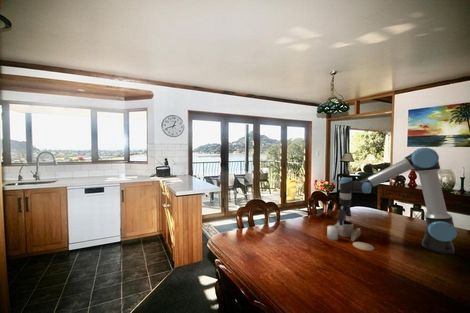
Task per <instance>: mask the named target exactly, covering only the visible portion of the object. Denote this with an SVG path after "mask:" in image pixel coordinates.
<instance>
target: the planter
mask: <svg viewBox="0 0 470 313" xmlns="http://www.w3.org/2000/svg"><path fill="white" fill-rule="evenodd" d="M343 221H344V226H343V230H341V229H339V220H338V219H337V221H336V224H337V227H338V237H342V238H348V239H349V238H350V239H351V233H352V232H353V231H354V222H352V221H351V220H350V221H347V220H346V219H343Z"/></svg>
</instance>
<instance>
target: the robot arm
mask: <svg viewBox="0 0 470 313" xmlns="http://www.w3.org/2000/svg"><path fill="white" fill-rule="evenodd" d="M439 158H440V156H439V154H438V152H436V150H434V149H433V148H430V147H421V148H417V149H416V150H414V151H413V152H412V153H410V154H409V155H406V156H404V158H403V159H402V160H401V161H398V162H396V163H394V164H392V165H390V166H388V167H386V168H384V169H382V170H379V171H378V172H376V173H374V174H372V175H370V176H368V177H366V178H363V179H361V180H360V181H355V180H352V179H353V178H351V177H346V176H345V177H341V178H340V182H339V204H340V206H339V212H338V218H337V221H338V220H339V229H341V230H343V226H344V221H343V220H347V221H350V222H351V217H352V211H351V205H352V192H355V193H361V194H362V193H363V194H371V193H372V188H373V187H376V186H378V185H380V184H382V183H384V182H387V181H389V180H391V179H393V178H396V177H397V176H400V175H402V174H404V173H406V172H409V171H411V170H414V172H415V173H417V175H418V177H419V182H420V185H421V190H422V191H421V192H422V195H423V198H424V203H425V208H426V212H425V215H424V218H425V234H424V236H423V238H422V241H421V246H422V247H423V248H425V249H427V250H428V251H432V252H436V253H439V254H447V255H452V254H455V253H456V252H455V251H456V249H455V246H454V243H453V242H452V241H453V240H455V239H456V237H457V235H458V232H457V229H456V227H455V225H454V224H455V223H454V219H453V217H452V214H450V213H449V212H448V210H447V207H446V202H445V199H444V198H445V196H444V194H443V190H442V185H441V180H440V177H439V176H440V175H439V171H440V170H441V165H440V163H439V162H440V161H439ZM345 215H346V216H345ZM344 218H345V219H344Z"/></svg>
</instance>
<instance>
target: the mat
mask: <svg viewBox="0 0 470 313" xmlns="http://www.w3.org/2000/svg"><path fill="white" fill-rule="evenodd" d="M352 246H353V247H354V248H355V249H357V250H360V251H365V252H366V251H367V252H368V251H369V252H372V251H374V250H375V247H374V246H373V245H372V244H370V243H367V242H362V241H353V242H352Z"/></svg>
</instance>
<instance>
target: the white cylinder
mask: <svg viewBox="0 0 470 313" xmlns="http://www.w3.org/2000/svg"><path fill="white" fill-rule="evenodd" d="M326 229H327V230H326V239H328V240H330V241H338V240H339V235H338V227H336V226H333V225H327V227H326Z"/></svg>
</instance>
